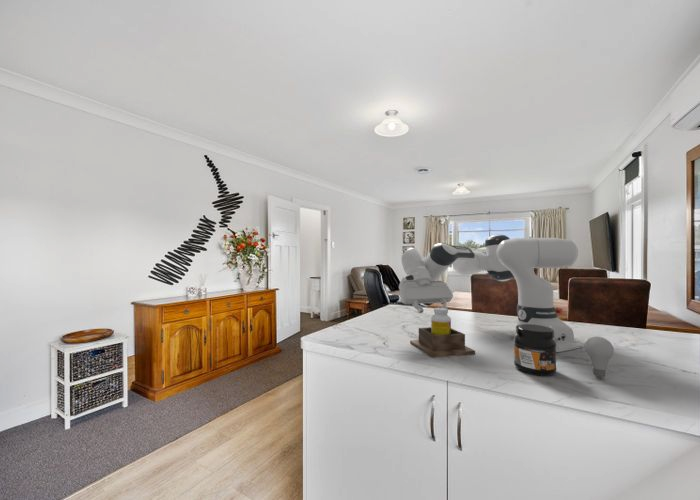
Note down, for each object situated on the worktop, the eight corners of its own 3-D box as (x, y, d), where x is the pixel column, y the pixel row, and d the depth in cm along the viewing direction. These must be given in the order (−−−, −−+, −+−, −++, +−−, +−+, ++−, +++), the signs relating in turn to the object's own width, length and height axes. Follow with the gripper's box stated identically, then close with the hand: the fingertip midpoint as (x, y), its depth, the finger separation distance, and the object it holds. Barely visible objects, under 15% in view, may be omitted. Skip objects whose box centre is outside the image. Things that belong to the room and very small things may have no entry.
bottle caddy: (448, 340, 118) (448, 324, 118) (475, 353, 103) (475, 335, 103) (410, 343, 114) (410, 326, 115) (431, 357, 99) (431, 338, 99)
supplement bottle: (452, 348, 105) (452, 310, 105) (431, 347, 106) (432, 310, 106) (449, 343, 111) (449, 307, 111) (430, 341, 113) (430, 306, 113)
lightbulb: (579, 373, 86) (579, 334, 86) (599, 373, 86) (599, 333, 87) (598, 383, 80) (598, 340, 80) (620, 382, 80) (620, 340, 80)
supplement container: (521, 375, 85) (521, 331, 85) (508, 362, 95) (508, 323, 95) (564, 378, 83) (564, 333, 83) (546, 364, 93) (546, 324, 93)
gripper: (441, 285, 127) (455, 314, 117) (394, 287, 122) (404, 317, 113) (447, 275, 122) (462, 305, 113) (399, 277, 118) (410, 307, 108)
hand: (433, 311), depth 113 cm, fingers open, 8 cm apart
